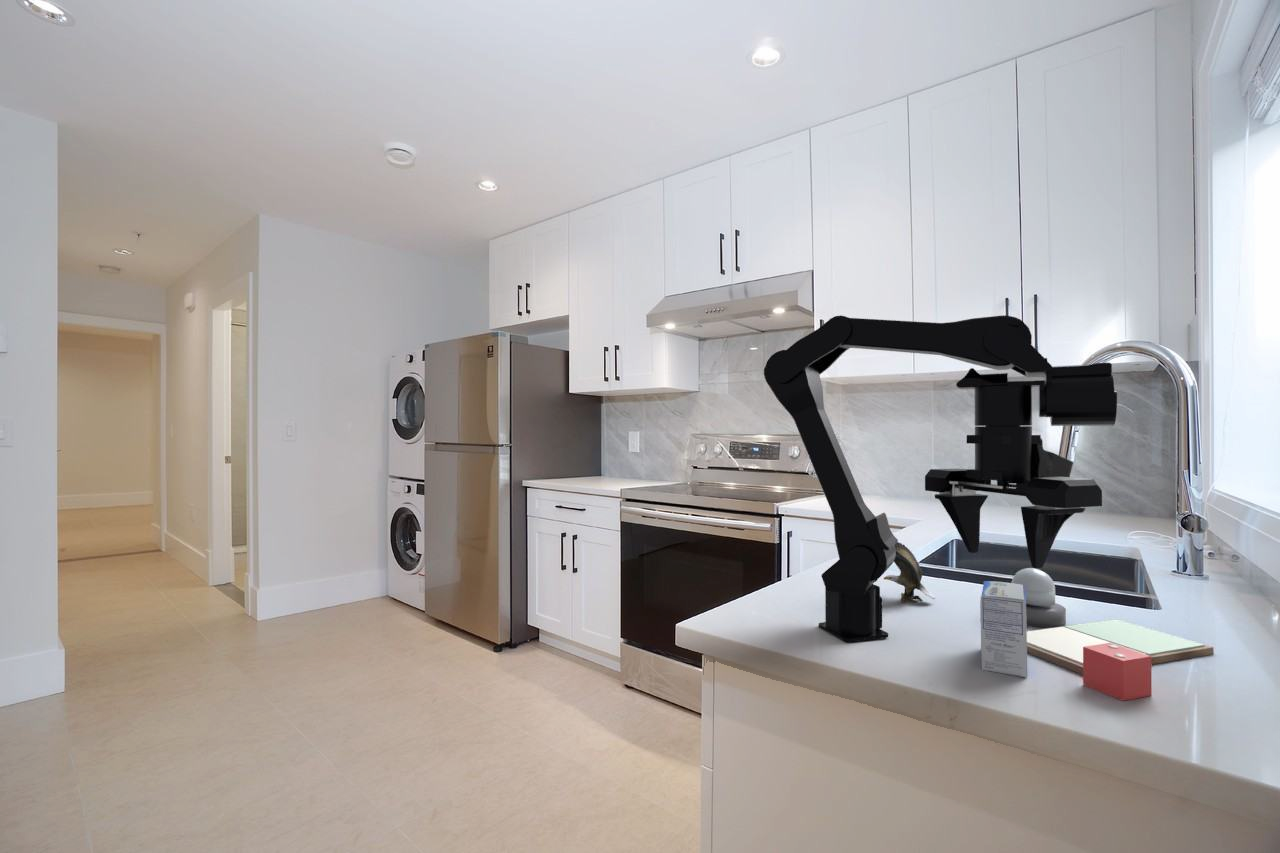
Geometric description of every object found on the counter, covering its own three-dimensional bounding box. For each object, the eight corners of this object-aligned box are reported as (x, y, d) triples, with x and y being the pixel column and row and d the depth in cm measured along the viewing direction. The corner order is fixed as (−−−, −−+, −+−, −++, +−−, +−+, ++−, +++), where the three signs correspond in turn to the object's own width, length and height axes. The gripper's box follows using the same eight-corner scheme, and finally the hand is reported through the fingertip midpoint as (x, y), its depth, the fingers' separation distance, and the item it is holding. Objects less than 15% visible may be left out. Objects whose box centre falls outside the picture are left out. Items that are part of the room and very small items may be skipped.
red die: (1123, 700, 59) (1123, 660, 59) (1083, 684, 63) (1083, 646, 63) (1151, 695, 60) (1151, 655, 60) (1110, 679, 64) (1110, 642, 64)
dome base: (1037, 630, 80) (1037, 615, 80) (989, 613, 87) (989, 599, 87) (1079, 624, 82) (1079, 610, 82) (1028, 608, 89) (1028, 595, 89)
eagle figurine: (877, 594, 97) (877, 540, 97) (922, 595, 96) (922, 540, 96) (892, 608, 90) (892, 549, 90) (941, 610, 89) (941, 550, 89)
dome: (1036, 611, 81) (1036, 574, 81) (1003, 601, 86) (1002, 565, 86) (1064, 608, 83) (1064, 571, 83) (1030, 598, 88) (1029, 563, 88)
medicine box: (1027, 680, 64) (1027, 600, 64) (980, 671, 67) (980, 594, 67) (1025, 656, 71) (1025, 584, 71) (983, 648, 73) (982, 579, 73)
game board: (1086, 675, 65) (1086, 666, 65) (999, 641, 76) (999, 633, 76) (1213, 653, 71) (1213, 645, 71) (1116, 624, 82) (1116, 617, 82)
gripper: (1139, 425, 62) (1140, 573, 62) (988, 426, 80) (988, 541, 80) (1060, 426, 59) (1061, 581, 59) (921, 426, 77) (922, 546, 77)
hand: (1003, 559), depth 69 cm, fingers open, 8 cm apart
